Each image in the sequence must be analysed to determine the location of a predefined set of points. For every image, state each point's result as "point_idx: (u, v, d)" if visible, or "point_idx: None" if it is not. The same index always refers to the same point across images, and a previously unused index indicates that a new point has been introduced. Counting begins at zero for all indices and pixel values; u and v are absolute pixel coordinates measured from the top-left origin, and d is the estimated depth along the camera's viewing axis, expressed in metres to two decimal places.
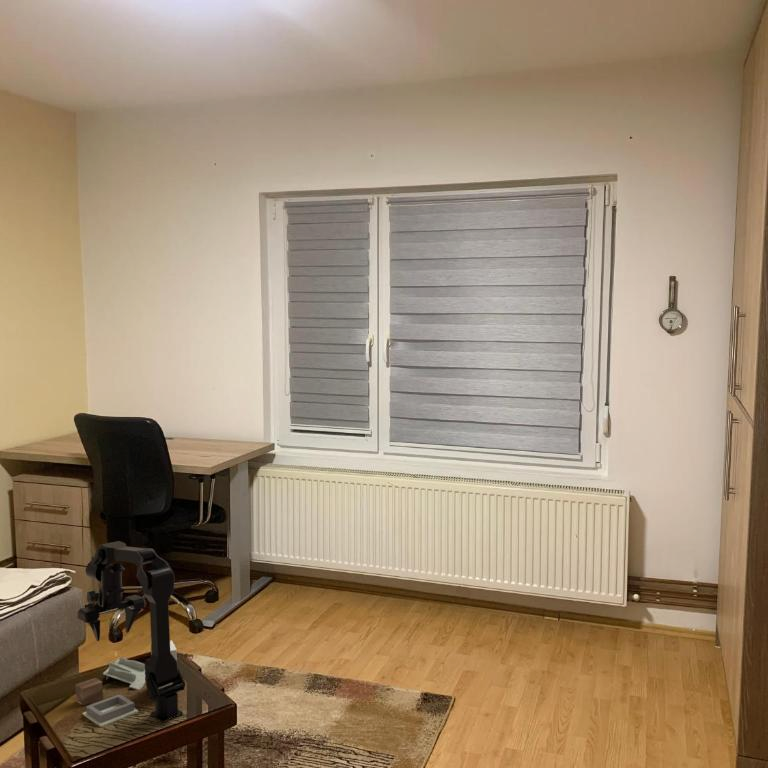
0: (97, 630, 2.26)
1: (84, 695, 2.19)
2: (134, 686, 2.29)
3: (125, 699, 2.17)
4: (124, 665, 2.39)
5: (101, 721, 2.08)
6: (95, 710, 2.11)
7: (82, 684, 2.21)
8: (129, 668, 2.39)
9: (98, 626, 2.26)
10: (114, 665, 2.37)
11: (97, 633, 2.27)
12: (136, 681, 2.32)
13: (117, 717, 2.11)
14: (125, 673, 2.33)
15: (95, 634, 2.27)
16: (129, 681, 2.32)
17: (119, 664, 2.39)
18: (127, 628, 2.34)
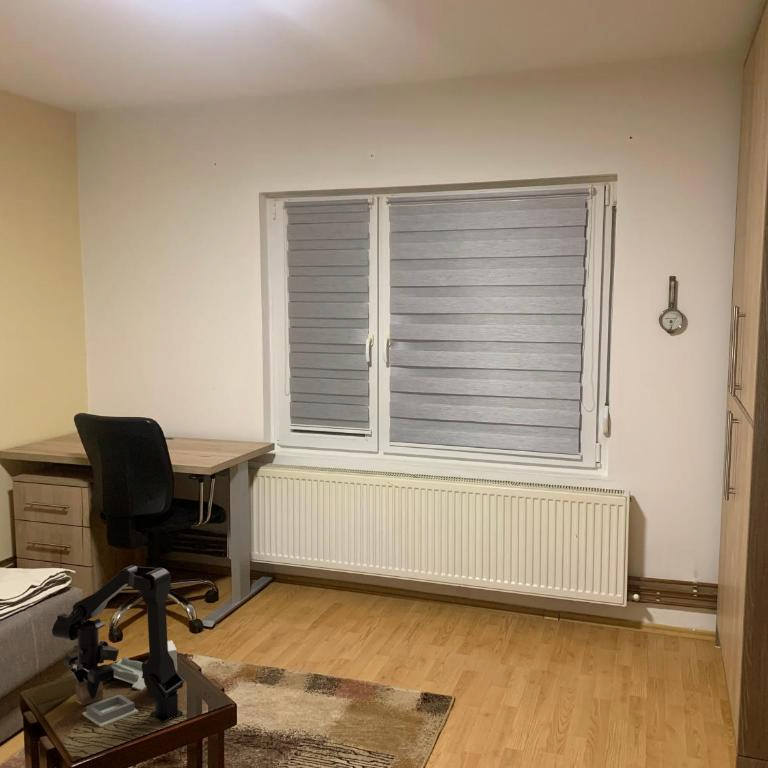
0: (77, 681, 2.23)
1: (84, 695, 2.19)
2: (137, 686, 2.29)
3: (125, 699, 2.17)
4: (126, 665, 2.39)
5: (101, 721, 2.08)
6: (95, 710, 2.11)
7: (82, 684, 2.21)
8: (131, 668, 2.38)
9: (75, 677, 2.22)
10: (116, 665, 2.37)
11: None
12: (139, 681, 2.32)
13: (117, 717, 2.11)
14: (128, 673, 2.32)
15: None
16: (132, 681, 2.31)
17: (121, 664, 2.39)
18: None
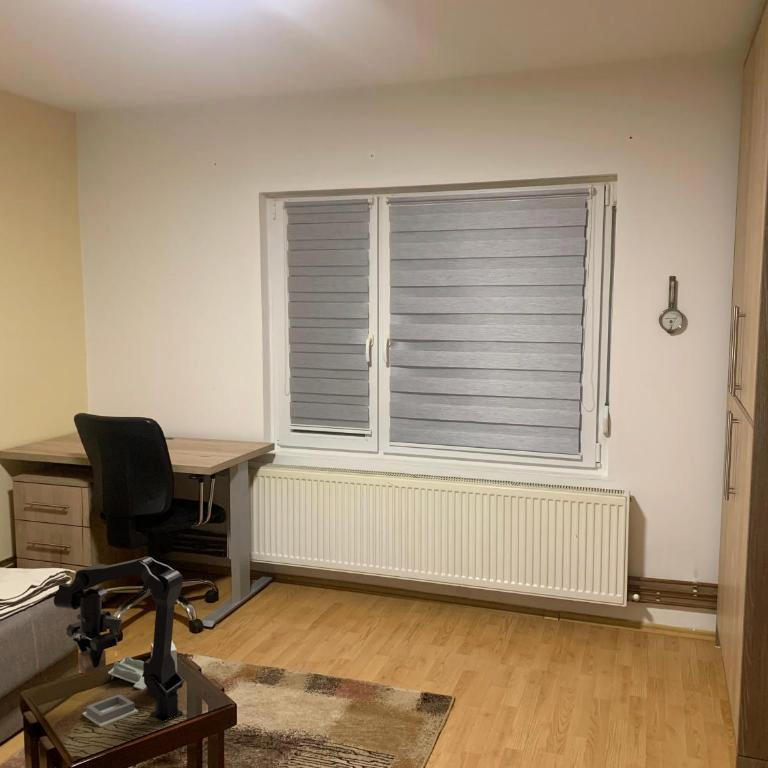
0: (80, 650, 2.21)
1: (87, 664, 2.17)
2: (138, 686, 2.29)
3: (125, 699, 2.17)
4: (129, 665, 2.40)
5: (101, 721, 2.08)
6: (95, 710, 2.11)
7: (85, 653, 2.19)
8: (134, 668, 2.39)
9: (78, 647, 2.20)
10: (119, 664, 2.37)
11: None
12: (140, 681, 2.32)
13: (117, 717, 2.11)
14: (130, 673, 2.33)
15: None
16: (133, 681, 2.32)
17: (124, 663, 2.40)
18: None
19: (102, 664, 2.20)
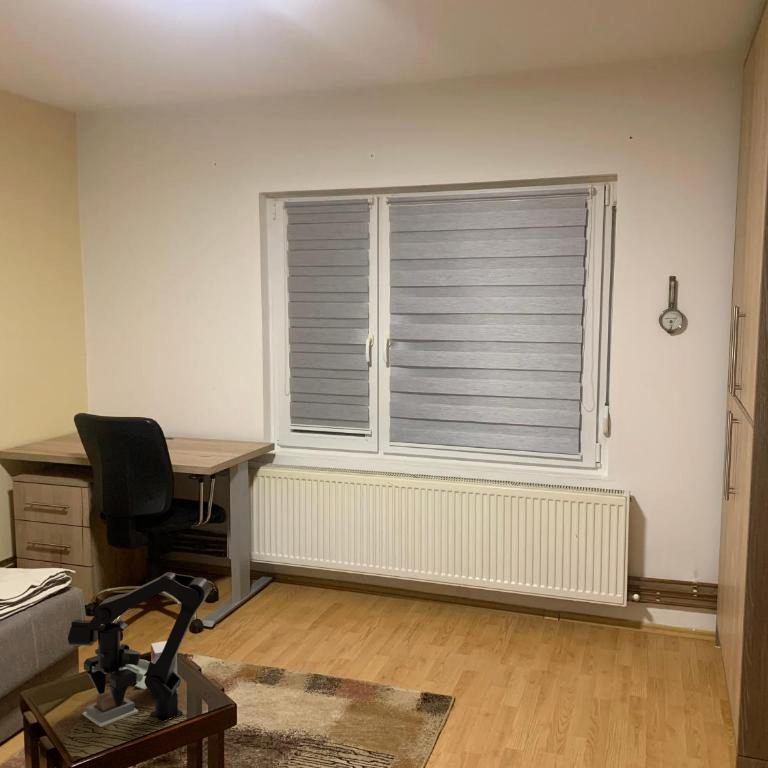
0: (93, 683, 2.16)
1: (105, 707, 2.11)
2: (140, 685, 2.30)
3: (125, 699, 2.17)
4: None
5: (101, 721, 2.08)
6: (95, 710, 2.11)
7: (103, 695, 2.13)
8: (138, 667, 2.39)
9: (92, 679, 2.16)
10: None
11: (96, 687, 2.16)
12: (143, 680, 2.33)
13: (117, 717, 2.11)
14: None
15: None
16: None
17: None
18: None
19: None
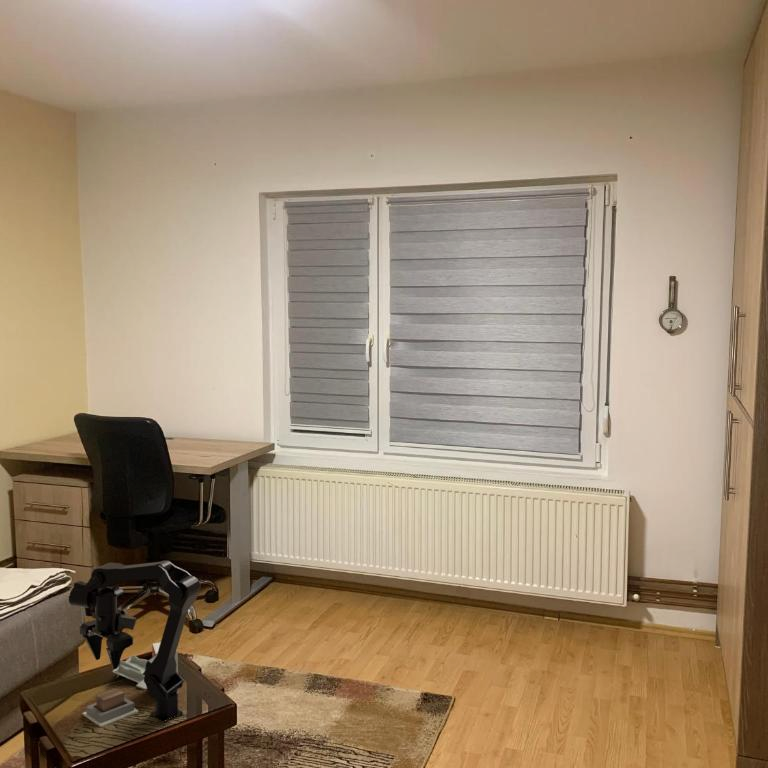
0: (89, 647, 2.20)
1: (105, 707, 2.11)
2: (141, 685, 2.30)
3: (125, 699, 2.17)
4: (135, 664, 2.40)
5: (101, 721, 2.08)
6: (95, 710, 2.11)
7: (103, 695, 2.13)
8: (140, 667, 2.39)
9: (88, 643, 2.20)
10: (125, 663, 2.38)
11: (92, 650, 2.21)
12: None
13: (117, 717, 2.11)
14: (134, 672, 2.33)
15: None
16: (137, 680, 2.32)
17: (130, 662, 2.40)
18: None
19: None
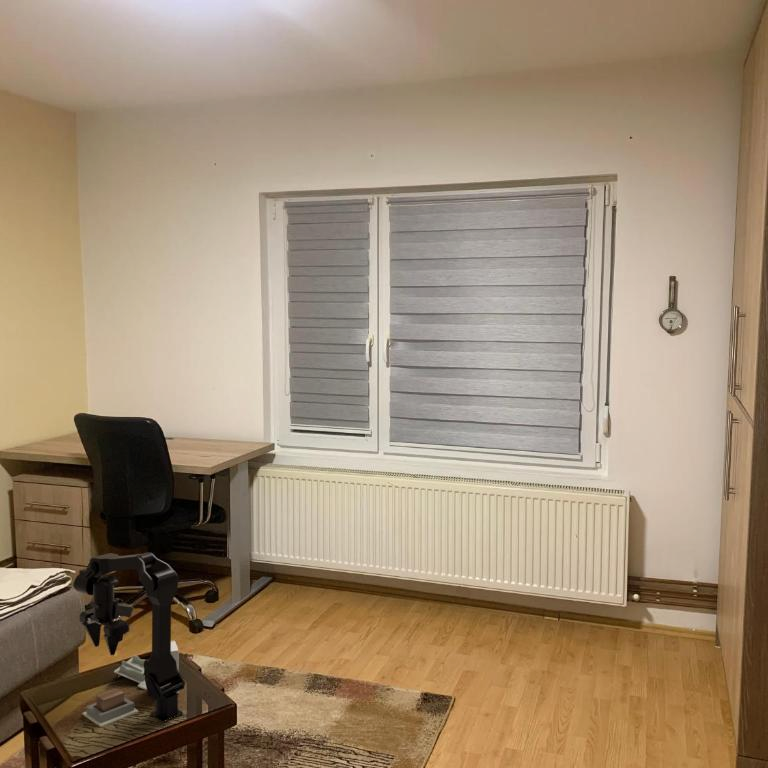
0: None
1: (105, 707, 2.11)
2: (142, 686, 2.30)
3: (125, 699, 2.17)
4: (137, 664, 2.40)
5: (101, 721, 2.08)
6: (95, 710, 2.11)
7: (103, 695, 2.13)
8: (141, 667, 2.39)
9: (87, 630, 2.29)
10: (126, 663, 2.38)
11: (91, 638, 2.30)
12: None
13: (117, 717, 2.11)
14: (135, 672, 2.33)
15: None
16: (138, 680, 2.32)
17: (132, 663, 2.40)
18: None
19: None
